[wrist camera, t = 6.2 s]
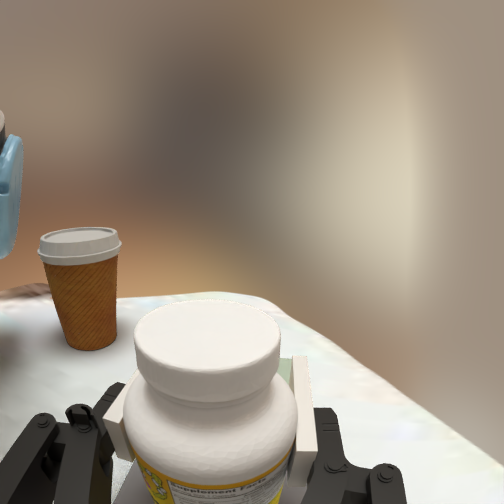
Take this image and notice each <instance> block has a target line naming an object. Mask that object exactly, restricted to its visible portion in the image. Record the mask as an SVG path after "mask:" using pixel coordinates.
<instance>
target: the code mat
mask: <svg viewBox="0 0 504 504" xmlns="http://www.w3.org/2000/svg"><path fill="white" fill-rule="evenodd" d="M306 490H307V483H306V486H305V487H287V471H286V475H285V479H284V483H283V487H282V491H281V494H280V498H279V502H278V504H301V501H302V499H303V497H304V495H305V492H306ZM113 504H155V503H154V501H153V499H152V497H151V495H150V492H149V490H148V488H147V486H146V483H145V481H144V478H143V476H142V473H141V471H140V468H139V466H138V463H137V460H136V459H135V461H134V463H133V465H132V467H131V469H130V471H129V473H128V475H127V477H126V479H125V481H124V483H123V485H122V487H121V489H120V491H119V493H118V495H117V497H116V499H115V501H114V503H113Z"/></svg>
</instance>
